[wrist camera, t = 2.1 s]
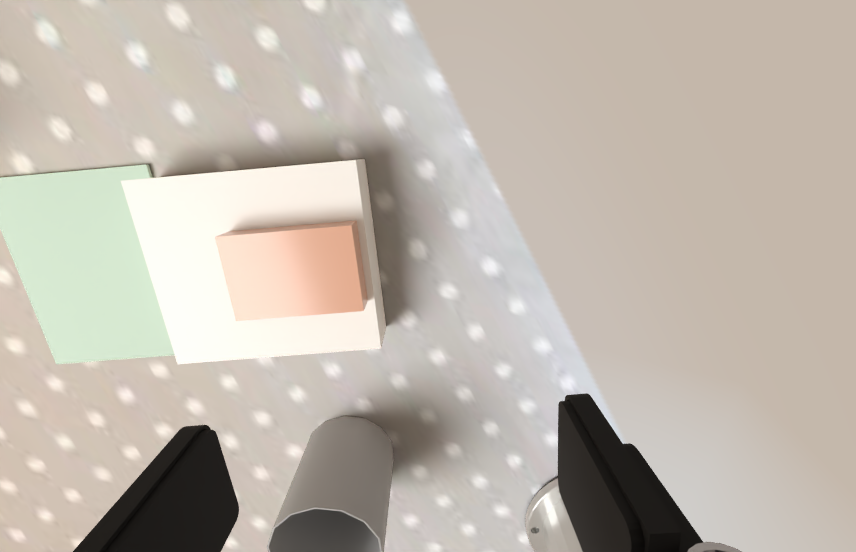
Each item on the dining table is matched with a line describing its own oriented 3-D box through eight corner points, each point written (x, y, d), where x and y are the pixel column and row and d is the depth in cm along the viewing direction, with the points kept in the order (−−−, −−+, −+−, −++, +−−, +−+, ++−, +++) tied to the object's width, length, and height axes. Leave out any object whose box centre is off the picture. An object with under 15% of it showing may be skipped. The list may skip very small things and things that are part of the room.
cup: (292, 461, 39) (247, 563, 29) (333, 401, 37) (300, 489, 27) (366, 498, 40) (347, 607, 30) (410, 442, 38) (404, 540, 28)
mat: (148, 164, 30) (146, 164, 30) (202, 351, 35) (200, 353, 35) (-17, 179, 30) (-21, 179, 30) (59, 362, 35) (56, 364, 35)
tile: (356, 220, 27) (351, 225, 26) (367, 300, 29) (363, 310, 27) (229, 231, 28) (214, 236, 26) (248, 310, 29) (235, 321, 28)
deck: (364, 158, 30) (355, 159, 26) (386, 326, 34) (381, 348, 30) (158, 177, 30) (120, 180, 27) (205, 340, 35) (177, 364, 31)
